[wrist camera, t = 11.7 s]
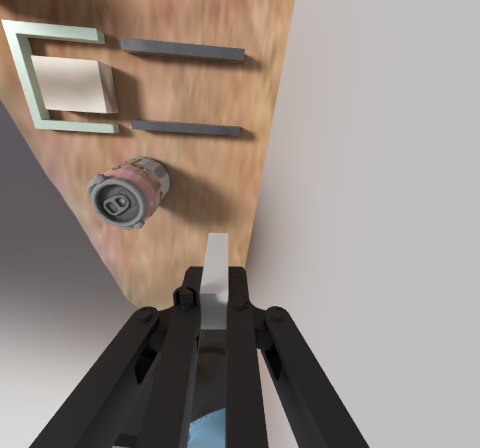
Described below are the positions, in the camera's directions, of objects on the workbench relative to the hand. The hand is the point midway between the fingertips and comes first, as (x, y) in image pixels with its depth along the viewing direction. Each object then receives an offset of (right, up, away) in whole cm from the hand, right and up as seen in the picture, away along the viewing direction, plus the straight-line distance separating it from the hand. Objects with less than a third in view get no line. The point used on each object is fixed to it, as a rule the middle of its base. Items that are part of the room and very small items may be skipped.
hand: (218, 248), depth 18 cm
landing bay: (-22, +22, +15) cm, 35 cm away
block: (-21, +22, +15) cm, 34 cm away
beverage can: (-15, +10, +22) cm, 28 cm away
